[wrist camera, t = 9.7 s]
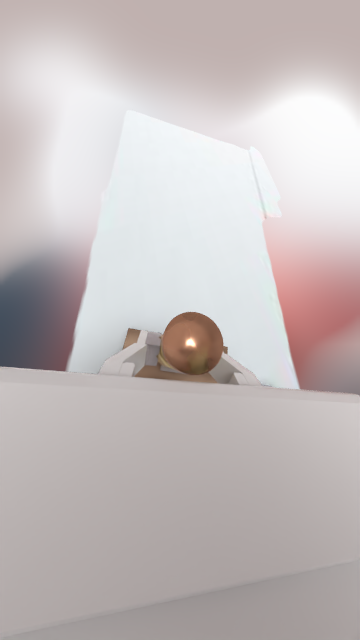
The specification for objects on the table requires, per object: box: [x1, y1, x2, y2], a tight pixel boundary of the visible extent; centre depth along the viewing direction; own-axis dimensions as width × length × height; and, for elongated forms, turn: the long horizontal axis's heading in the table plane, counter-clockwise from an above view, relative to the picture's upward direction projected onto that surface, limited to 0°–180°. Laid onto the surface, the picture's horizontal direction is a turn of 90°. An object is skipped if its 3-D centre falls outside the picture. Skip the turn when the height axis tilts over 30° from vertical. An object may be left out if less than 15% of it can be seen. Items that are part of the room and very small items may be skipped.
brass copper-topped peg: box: [158, 312, 223, 375], centre depth 11 cm, size 3×3×10 cm
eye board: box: [123, 328, 228, 383], centre depth 29 cm, size 12×24×4 cm, turn 81°
